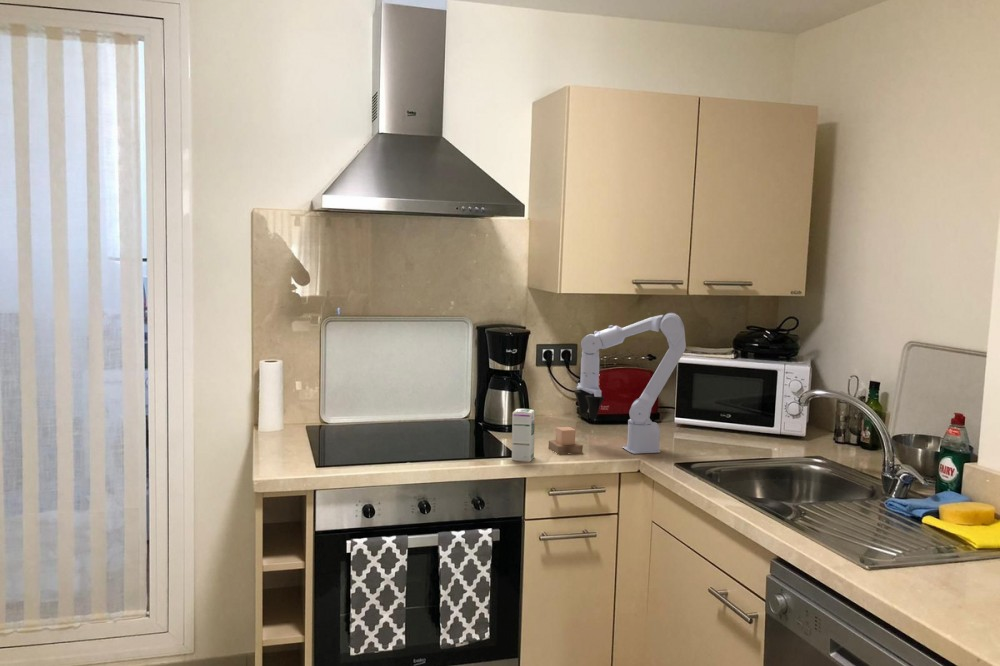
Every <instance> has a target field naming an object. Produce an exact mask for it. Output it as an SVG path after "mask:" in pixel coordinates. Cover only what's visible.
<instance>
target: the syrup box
mask: <svg viewBox="0 0 1000 666" xmlns="http://www.w3.org/2000/svg"><path fill="white" fill-rule="evenodd" d="M535 412H536V411H535V409H531V408H516V409H515V410H514V411H513V412H511V413H512V415H511V416H512V417H511V419H512V421H511V422H512V423H511V424H512V426H511V427H512V428H511V429H512V430H511V460H512V461H515V462H528V463H529V462H531V461H532V460H533V458H534V457H535Z"/></svg>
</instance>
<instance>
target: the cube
mask: <svg viewBox="0 0 1000 666" xmlns="http://www.w3.org/2000/svg"><path fill="white" fill-rule="evenodd" d="M555 440H556V442H557V443H559V444H560V445H573V444H575V441H576V429H574V428H572V427H571V426H557V427H555Z"/></svg>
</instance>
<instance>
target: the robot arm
mask: <svg viewBox="0 0 1000 666" xmlns="http://www.w3.org/2000/svg"><path fill="white" fill-rule="evenodd" d="M660 330H661V332H662V334H663V335H664V337H666V340H667V344H668V347H669V348H668V349H667V351H666V353H665V354H664V356H663V357H662V359H661V361H660V363H659V365H658V366H657V368H656V370H655V372H654V373H653V374H652V377H651V378H650V379H649V382H647V385H646V387H645V388H644V389H643V391H642V393H641V395H640V396H639V398H636V399H635V400H634V401H633V402H632V404H631V406H630V409H629V411H628V412H629V413H628V415H629V419H627V441H626V442H627V443H626V445H624V446H622V448H621V449H623V448H624V450H626V451H627V452H629V453H630V454H633V455H635V454H654V453H655V454H656V453H661V450H660V438H661V429H660V426H659V424H658V423H657V422H655V421H652V419H651V418H650V417H651V414H652V413H651V412H652V408H653V406H654V405H655V402H656V401H657V398H658V397H659V395H660V393H662V390H663V388H664V387H665V385H666V383H667V382H668V381H669V378H670V377H671V375H672V373H673V371H674V370H675V368H676V366H677V365H678V363H679V361H680V359H681V358H682V356H683V355H684V353H685V351H686V348H687V344H686V335H685V334H686V332H685V325H684V323H683V321H682V317H680V315H678V314H677V313H675V312H668V313H666V314H665V315H664V314H660V315H659V314H658V315H655V316H650V317H648V318H645V319H642V320H639V321H637V322H635V323H631V324H629V325H627V326H624V327H620V326H619V325H613V324H611V325H608V328H605V329H602V330H599V331H598V330H594V332H593V333H594V334H593V333H589V334H587V335H585V336H584V337H583V338H582V339H581V342H580V348H581V357H580V381H579V382H578V383H577V385H576V389H577V390H574V392H573V393H574V395H575V397H576V400H577V405H578V409H579V413H580V414H587V413H588V418H589V419H598V417H597V416H598V413H599V410H600V408H601V404H602V403H603V401H604V400H605V396H603V395H602V390H601V389H600V386H599V385H600V383H599V382H600V359H601V358H600V350H601V349H602V350H606V349H608V348H611V347H614V346H617V345H620V344H623V343H624V341H625V339H626V338H627V337H631V336H634V335H637V334H640V333H644V332H645V333H646V332H647V331H652V332H656V333H659V332H660Z"/></svg>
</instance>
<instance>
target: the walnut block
mask: <svg viewBox="0 0 1000 666" xmlns="http://www.w3.org/2000/svg"><path fill="white" fill-rule="evenodd" d="M583 446H584V445H583V444H581V443H579V442H578V441H576V440H575V444H573V445H560V444H559V443H557V442H556V439H551V440H550V439H549V440H548V449H549V450H550V449H551V450H550V451H552V452H553V451H554V452H553V453H555V452H556V453H557V454H556V453H555V454H556V455H558V454H562V455H569V454H568V453H581V454H583V448H584V447H583Z"/></svg>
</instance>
